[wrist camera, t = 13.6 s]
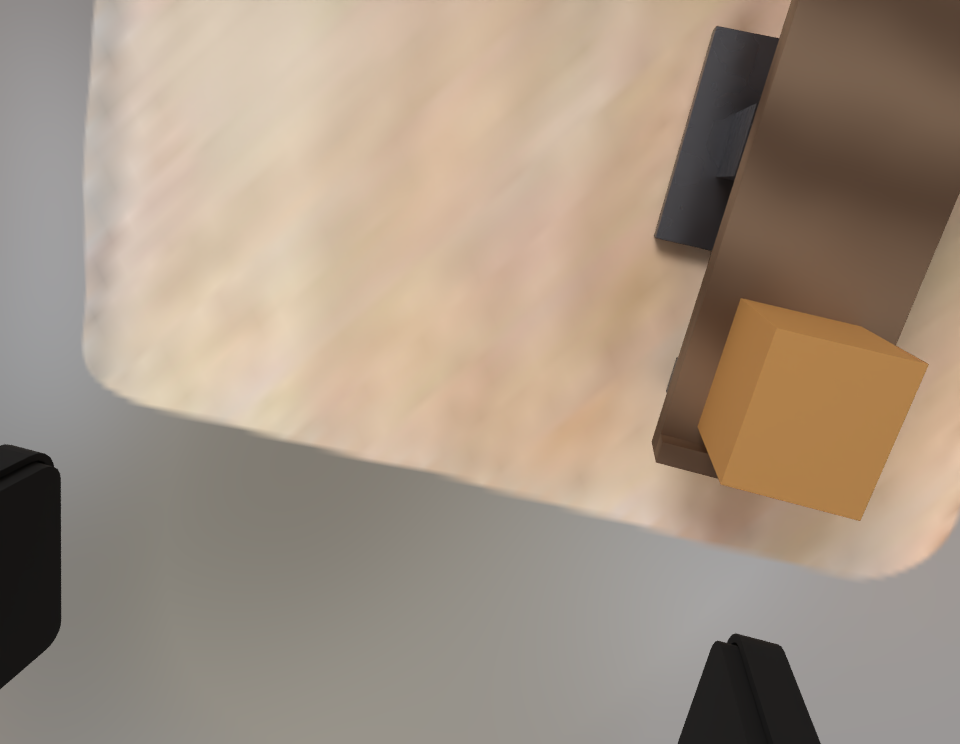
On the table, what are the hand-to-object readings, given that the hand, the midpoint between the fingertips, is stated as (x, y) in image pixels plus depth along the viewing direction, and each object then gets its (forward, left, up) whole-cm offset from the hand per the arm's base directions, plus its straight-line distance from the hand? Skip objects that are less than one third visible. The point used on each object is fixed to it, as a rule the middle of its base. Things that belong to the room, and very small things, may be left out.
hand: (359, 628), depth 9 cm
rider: (+7, +9, -22) cm, 25 cm away
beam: (-1, +15, -24) cm, 28 cm away
